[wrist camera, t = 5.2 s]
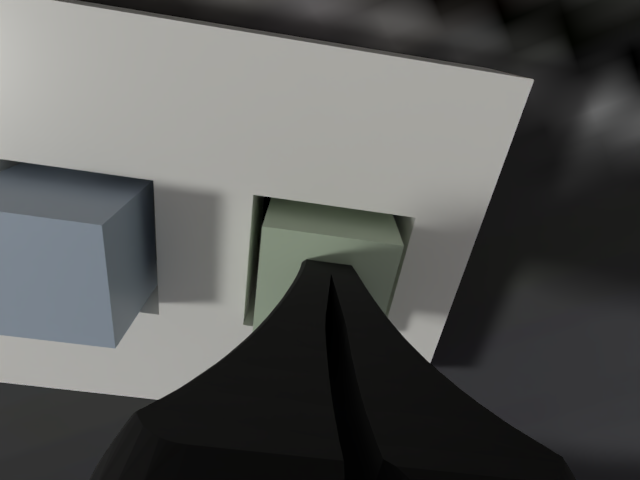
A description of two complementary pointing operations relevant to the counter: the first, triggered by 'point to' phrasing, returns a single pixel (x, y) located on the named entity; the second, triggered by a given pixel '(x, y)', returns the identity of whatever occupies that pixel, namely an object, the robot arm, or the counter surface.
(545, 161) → the counter surface
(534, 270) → the counter surface
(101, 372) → the button panel
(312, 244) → the sage green button
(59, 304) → the slate blue button
